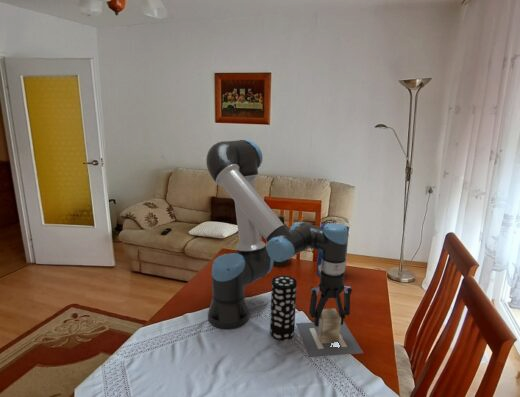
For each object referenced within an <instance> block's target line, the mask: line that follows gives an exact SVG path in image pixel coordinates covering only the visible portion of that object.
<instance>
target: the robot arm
mask: <svg viewBox="0 0 520 397" xmlns="http://www.w3.org/2000/svg"><path fill="white" fill-rule="evenodd" d="M205 161H206V162H205V163H206V168H207V171H208V173H209V175H210V177H211V178H212V179H213V181H214V182H215V183H216V185H218V186H222V188H223V189H225V191H226V193H228V195H229V196H230V197H231V199H232V200H233V201H234V207H235V216H236V223H237V226H236V227H237V232H238V240H239V243H238V245H236V246H235V249H236V252H229V253H224V254H223V253H222V254H221V255H219V256H217V257H216V258H215V259H214V260H213V262H212V268H211V283H212V284H211V286H212V287H211V288H212V299H211V302H210V305H209V308H208V311H207V320H208V322H209V324H211V325H212V326H213V327H216V328H218V329H224V330H230V329H236V328H239V327H240V328H241V327H242V326H244V325H245V324H246V323H247V322H248V321H249V318H250V310H249V308H248V304H247V302H246V298H245V287H246V286H249V285H251V284H252V283H255V282H256V281H257V280H259V279H262V278H264V277H265V276H266V275H268V274H269V273H270V272H271V271H272V269H273V267H274V266H273V260H274V261H276V262H282V261H285V260H287V259H289V260H290V259H292V258H293V257H295V256H296V255H298V254H300V253H302V252H304V251H306V250H308V249H312V250H316V251H318V250H319V251H322V263H321V269H322V270H321V276H319V277H320V279H319V284H318V286H317V287H313V286H311V287H310V292H311V293H310V294H311V296H310V304H309V311H308V314H309V316H310V317H311V318H313V322H314V324H315V326H316V333H317V335H318V337H319V336H321V323H322V319H321V317H320V316H321V313H322V311H323V309H325V305H326V302H328V301H329V299H335V304H336V308H337V313H338V314H339V316H340V317H341V325H343V321H344V319H345V318H346V316H349V315H350V314H351V294H352V292H353V288H352V287H351V286H350V285H345V284H344V281H345V275H344V271H345V272H346V268H345V261H346V262H347V257H346V249H347V250H348V245H347V241H348V242H349V234H348V230H347V228H346V227H345V226H346V225H344V224H342V223H338V222H337V223H335V222H329V223H328V224H326V225H325V226H324V228H321V227H320V226H317V225H313V224H309V223H306V222H301V221H300V222H299V221H297V222H294V223H293V224H292V225H291V226H290V227H289V229H290V230H288V229H287V228H286V227H285V225H286V224H285V223H284V224H285V225H284V224H283V223H282V222H281V221H280V219H279V218H278V215H276V213H275V212H274V211H273V210H272V209H271V208H270V206H269V205H268V204H267V203H266V202H265V200H264V199H263V198H262V197H261V195H260V194H259V193H258V192H257V189H256V181H255V180H256V178H257V177H258V175H259V168H260V167H261V164H262V162H263V153H262V149H261V148H260V146H259V145H258V144H257V143H255V141H252V140H250V139H249V140H246V139H239V140H227V141H226V140H224V141H218V142H217V143H214V144H213V145H212V146H211V147H210V148H209V150H208V152H207V154H206V160H205ZM262 237H263V238H264V239H265V241H266V242H267V244H266V243H265V242H264V241H263V239H262ZM347 237H348V239H347ZM319 292H321V293H320V298H319V300H318V295H319ZM342 292H343V304H342V299H341V293H342ZM317 301H318V302H317Z"/></svg>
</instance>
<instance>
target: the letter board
mask: <svg viewBox="0 0 520 397" xmlns="http://www.w3.org/2000/svg"><path fill="white" fill-rule="evenodd" d="M295 325H296V326H295V327H296V328H297V330H298V333H299V335H300V337H301V341H302V343H303V345H304V349H305V350H306V353H307V355H308V358H317V357H330V356H331V357H332V356H342V355H343V356H344V355H355V354H357V355H358V354H364V351H363V350H362V348H361V347H360V344H359V343H358V342H357V340H356V339H355V337H354V335H353V334H352V333H351V330H350V329H349V327H348V326H347V324H346V323H345V321H344V320H343V325H341V326H340V337H339V342H338V343H339V345H340V347H339V348H338V347H333V345H332V347H330V346H331V343H321V341H320V339H319V337H318V335H317V333H316V326H315V324H314V321H313V322H295Z"/></svg>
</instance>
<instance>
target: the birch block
mask: <svg viewBox="0 0 520 397" xmlns="http://www.w3.org/2000/svg"><path fill="white" fill-rule="evenodd" d="M320 317H321V319H322V323H321V336H319V339H320V341H321V343H334V342H339V337H340V326H341V317H340V316H339V312H338V310H336V308H323V311H322V313H321V316H320Z"/></svg>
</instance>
